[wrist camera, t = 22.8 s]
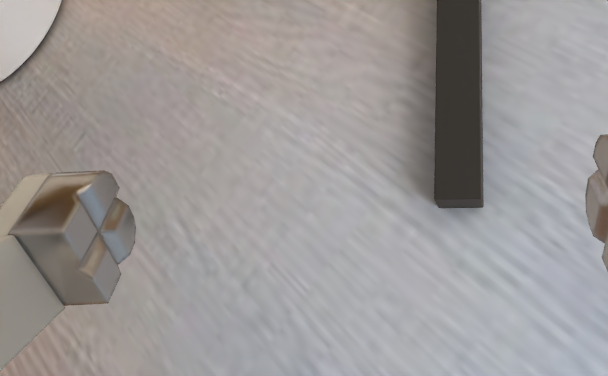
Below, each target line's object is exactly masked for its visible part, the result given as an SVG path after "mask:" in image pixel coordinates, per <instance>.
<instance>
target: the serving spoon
mask: <svg viewBox="0 0 608 376" xmlns="http://www.w3.org/2000/svg"><path fill="white" fill-rule="evenodd" d="M434 199H435V201H436V203H437V205H438V207H439V208H478V207H483V128H482V31H481V0H437V44H436V111H435V178H434Z"/></svg>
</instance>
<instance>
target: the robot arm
mask: <svg viewBox="0 0 608 376" xmlns="http://www.w3.org/2000/svg"><path fill="white" fill-rule="evenodd" d="M61 1H62V0H0V81H2V80H4V79H5V78H6V77H8V76H9V75H10V74H12V73H13V72H14V71H15V70H16V69H17V68H18V67H20V66H21V65H22V64H23V63H24V62H25V61H26V60H27V59H28V57H29V56H30V55H31V54H32V53H33V52H34V50H35V49H36V48H37V47H38V45H39V44H40V43H41V41H42V40H43V38H44V37H45V35H46V33H47V32H48V30H49V28H50V27H51V25H52V23H53V21H54V19H55V17H56V14H57V12H58V10H59V7H60V4H61ZM593 158H594V160H595V162H596V164H597V167H598V170H597V171H596V172H595V173H594V174H593V175H592V176H590V177H589V178H588V183H587V189H586V214H587V218H588V223H589V226H590V229H591V231H592V234H593V236H594V237H596V238H597V239H599V240H600V241H602V242H603V243H605V246H604V250H603V254H602V259H603V262H604V264H605V266H606V269H607V271H608V134H605V135H600V136H599V138H598V140H597V142H596V145H595V149H594V153H593ZM118 191H119V186H118V184H117V182H116V180H115V179H114V177H113V175H112V174H111V173H109V172H106V171H104V170H103V171H83V172H62V173H54V174H53V173H47V174H32V175H29V176H26V177H24V178H22V179H21V181H20V182H19V183H18V185H17V186H16V187H15V189H14V190H13V191H12V193H11V194H10V195H9V197H8V198H7V199H6V201H5V202H4V203H3V205H2V206H1V207H0V371H1V370H2V369H3V368H4V367H5V366H6V365H7V364H8V363H9V362H10V361H11V360H12V359H13V358H14V357H15V356H16V355H17V354H18V353H19V352H20V351H21V350H22V349H23V348H24V347H26V346H27V345H28V344H29V343H30V342H31V341H32V340H33V339H34V338H35V337H36V336H37V335H38V334H39V333H40V332H41V331H42V330H43V329H44V328H45V327H46V326H47V325H48V324H49V323H50V322H51V321H52V320H53V319H54V318H55V317H56V316H57V315H58V314H59V313H60V312H62V311H63V310H64V309H65V306H67V305H85V304H104V303H109V300H110V298H111V296H112V294H113V292H114V289H115V287H116V285H117V283H118V281H119V278H120V276H121V272H120V269H119V267H118V264H120V263H121V262H122V261H123V260H124V259H126V258H127V257H128V256H129V255H130V254H131V251H132V249H133V246H134V244H135V235H136V225H135V220H134V216H133V214H132V212H131V210H130V208H129V206H128V205H127V204H125V203H124V202H122V201H121V200H120V199H118V198H117V194H118Z"/></svg>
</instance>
